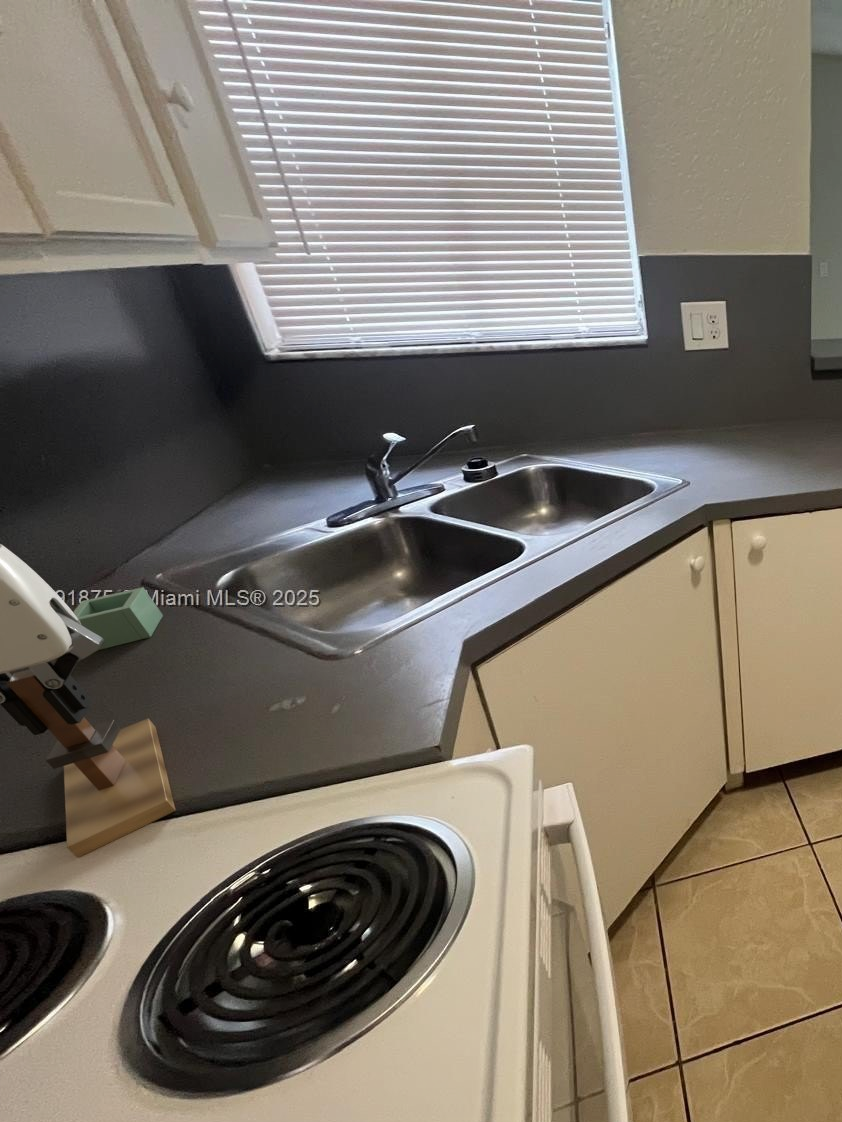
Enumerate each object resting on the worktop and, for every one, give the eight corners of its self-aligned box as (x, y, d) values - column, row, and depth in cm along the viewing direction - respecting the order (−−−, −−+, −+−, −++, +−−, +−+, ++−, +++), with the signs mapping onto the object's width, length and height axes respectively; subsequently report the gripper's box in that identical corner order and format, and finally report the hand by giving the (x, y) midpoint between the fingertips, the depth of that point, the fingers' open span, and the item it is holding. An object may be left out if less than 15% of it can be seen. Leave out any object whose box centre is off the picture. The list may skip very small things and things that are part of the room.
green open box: (87, 653, 86) (63, 623, 84) (103, 630, 91) (81, 600, 89) (151, 637, 89) (129, 607, 86) (163, 615, 94) (143, 586, 92)
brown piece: (79, 796, 61) (-18, 694, 55) (93, 770, 64) (3, 670, 58) (132, 779, 63) (44, 678, 56) (143, 755, 66) (61, 656, 59)
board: (72, 762, 68) (62, 752, 67) (156, 727, 72) (148, 718, 71) (77, 858, 57) (66, 847, 56) (176, 811, 61) (167, 800, 60)
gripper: (-280, 598, 44) (-76, 780, 54) (25, 539, 51) (159, 711, 60) (-206, 558, 50) (-33, 729, 59) (60, 509, 56) (178, 671, 66)
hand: (63, 719), depth 60 cm, fingers closed on brown piece
